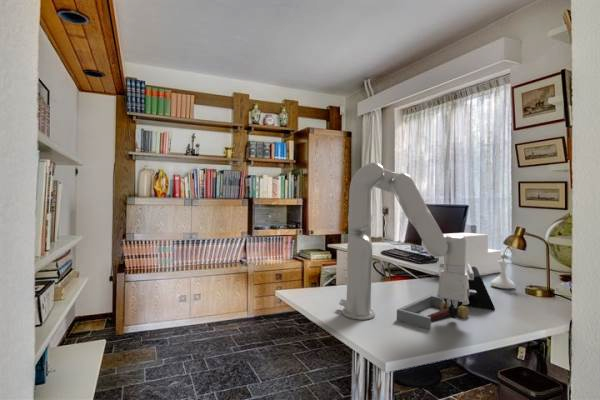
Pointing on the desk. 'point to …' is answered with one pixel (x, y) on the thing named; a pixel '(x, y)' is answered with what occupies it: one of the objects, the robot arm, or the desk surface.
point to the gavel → (462, 312)
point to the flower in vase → (503, 275)
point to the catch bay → (411, 310)
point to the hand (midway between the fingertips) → (453, 317)
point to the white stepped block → (477, 254)
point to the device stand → (477, 290)
